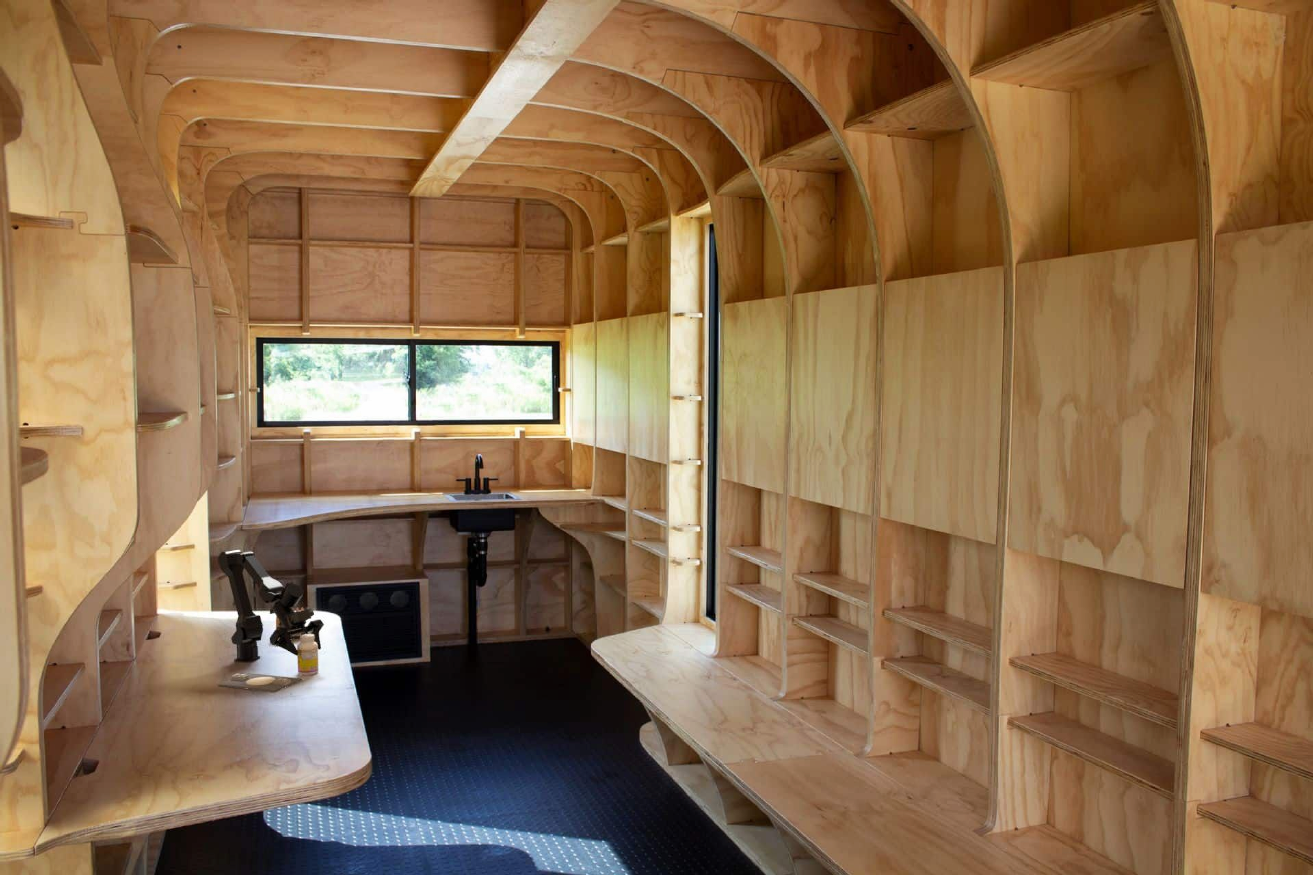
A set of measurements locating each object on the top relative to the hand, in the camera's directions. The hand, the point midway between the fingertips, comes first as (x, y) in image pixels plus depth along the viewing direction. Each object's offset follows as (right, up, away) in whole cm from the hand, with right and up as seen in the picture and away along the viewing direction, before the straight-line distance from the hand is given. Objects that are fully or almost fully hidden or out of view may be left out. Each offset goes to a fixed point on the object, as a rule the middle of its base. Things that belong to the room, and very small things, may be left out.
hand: (309, 651), depth 372 cm
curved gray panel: (-12, -8, -11) cm, 18 cm away
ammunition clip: (-22, -5, +49) cm, 54 cm away
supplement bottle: (0, -8, +1) cm, 8 cm away
